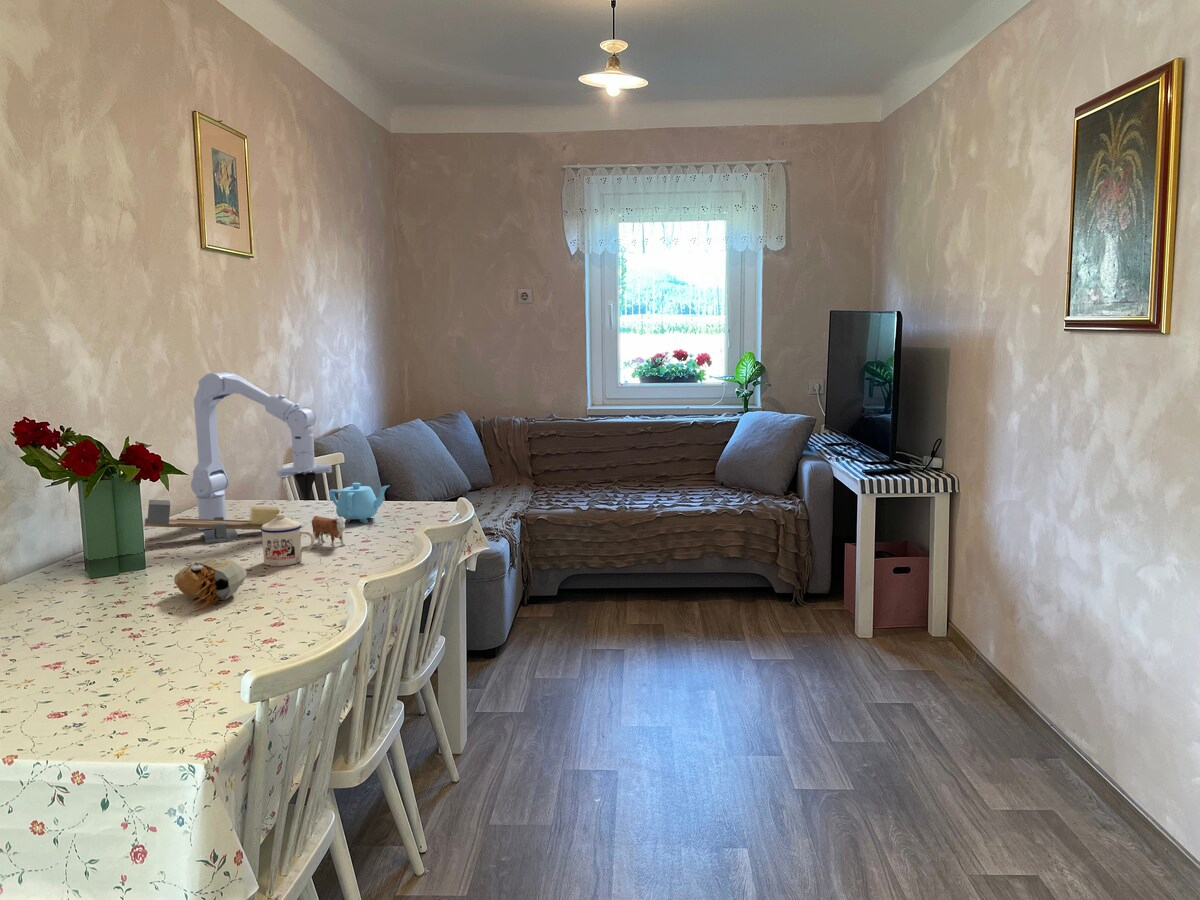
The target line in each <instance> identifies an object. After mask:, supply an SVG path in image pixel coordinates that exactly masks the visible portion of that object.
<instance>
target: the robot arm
mask: <svg viewBox="0 0 1200 900" xmlns="http://www.w3.org/2000/svg"><path fill="white" fill-rule="evenodd" d="M233 394H235V395H236V394H238V395H241V396H243V397H245V398H247V399H249V400H251V401H254V402H255V403H258V404H260V405H262V406H263V407H264V408H265V412H266V413H268V414H270V415H272V416H273V417H275V418H277V419H279V420H281V421H282V422H285V423H286V424H287V426H288V428H289V429H290V435H291V446H292V447H291V448H292V464H293V466H292V467H284V468H276V470H275V471H276V476H277V477H278V478H280V477H288V476H289V477H290V476H293V477H294V479H295V481H296V482H297V484H298V487H299V489H300V492H301V496H302V500H303V501H304V502H306V501H310V496H311V491H312V488H313V485H314V482H315V480H316V477H317V475H316V474H325V473H328V474H331V473H333V466H332V465H331V464H325V465H324V464H323V465H322V464H321V465H316V461H315V444H314V443H315V442H314V427H313V426H314V425H315V423H316V421H317V417H316V414H315V412H314V411H313V409H311V408H310V407H309V406H303V407H301V404H300V403H298V402H296V403H295V402H293V401H290V400H289V399H288V398H286V397H287V396H286V395H285V394H277V393H276V394H273V395H271V394H269V393H268V392H266V391H264V390H263V389H261V388H259V387H257V386H256V385H254V384H253V383H251V382H249V380H246V379H245V378H244V377H242V376H241V375H238V374H235V373H234V372H231V371H225V372H216V373H213V372H211V373H210V372H209V373H207V374H205V375H204V376H203V377H201V378H200V379H199V380H198V388H197V390H196V392H195V395H194V398H193V406H194V407H193V408H194V419H195V422H194V423H195V432H196V433H195V435H196V446H197V447H196V448H197V458H198V459H197V460H198V462H197V465H195V467H194V468H193V470H192V474H193V475H192V479H191V482H190V487H191V490H192V492H193V493H194V495H196V496H195V497H196V500H197V515H198V519H214V517H223V519H224V520H227V509H226V496H225V494H226V489H227V488H228V486H229V483H230V479H229V477H228V474H227V472H226V467H225V464H224V463H222V461H221V459H220V450H219V437H218V436H219V435H218V422H217V420H218V419H217V409H216V408H217V407H216V406H217V405H218V404H219V403H220V402H222V400H224V398H226V397H229V396H231V395H233ZM197 529H198V531H199V530H200V531H202V530H203V531H204V530H214V528H197Z"/></svg>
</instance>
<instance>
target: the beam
mask: <svg viewBox="0 0 1200 900" xmlns="http://www.w3.org/2000/svg"><path fill="white" fill-rule="evenodd" d="M147 507H148V509H147V518H146V517H145V518H144V519H145V520H144V527H147V528H149V527H152V528H153V527H155V528H183V529H184V528H186V529H189V528H190V529H198V528H213V529H214V528H216V524H220V523H226V529H235V530H255V531H256V530H257V531H259V530H260V531H261V527H262V525H250V523H249V521H250V520H243V519H242V520H241V519H240V520H239V519H226V520H215V519H199V518H180V517H177V518H175V519H173V518H170V513H171V500H166V499H165V500H163V499H148V505H147Z"/></svg>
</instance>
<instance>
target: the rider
mask: <svg viewBox="0 0 1200 900" xmlns="http://www.w3.org/2000/svg"><path fill="white" fill-rule="evenodd" d="M249 512H250V513H249V520H248V521H249V523H250V525H264V524H266V523H269V522H270V521H271V520H273V519H276V515H277V514H280V509H279V507H272V506H271V507H269V506H250V511H249Z"/></svg>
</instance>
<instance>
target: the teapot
mask: <svg viewBox="0 0 1200 900" xmlns="http://www.w3.org/2000/svg"><path fill="white" fill-rule="evenodd" d="M389 487H390V485H384V486H382V487H381V488H380V489H379V494H378V497H376V495H375V493H374V490H373V489H372V487H371V486H369V485H368V486H367V485H364V486H363V485H361V482H353V483H351V486H347V487H344V488H343V489H341V490H340V489H330V490H329V491H328V495H329V497H330V499H331V501H332V503H333V504H334V506H336V507H335V510H336V511H335V513H336V515H337V517H343V518H344V519H347V518H349V519H350V520H349V521H348V522H349V523H350V522H351V520H359V522H367V521H368V520H369V519H367V518H371V517H375V515H376V514H377V513H378V510H379V508H380V507H381V506H382V504H383V503H384V498H385V492H386V490H387V488H389ZM335 494H339V497H338V498H336V496H335ZM368 522H369V521H368ZM368 522H367V523H368ZM345 524H347V523H346V522H345Z"/></svg>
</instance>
